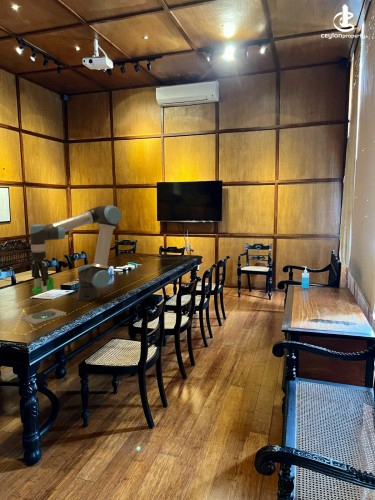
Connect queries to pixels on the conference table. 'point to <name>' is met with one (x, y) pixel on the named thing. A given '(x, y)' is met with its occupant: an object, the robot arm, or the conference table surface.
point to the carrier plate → (43, 316)
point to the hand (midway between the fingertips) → (41, 290)
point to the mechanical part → (39, 289)
